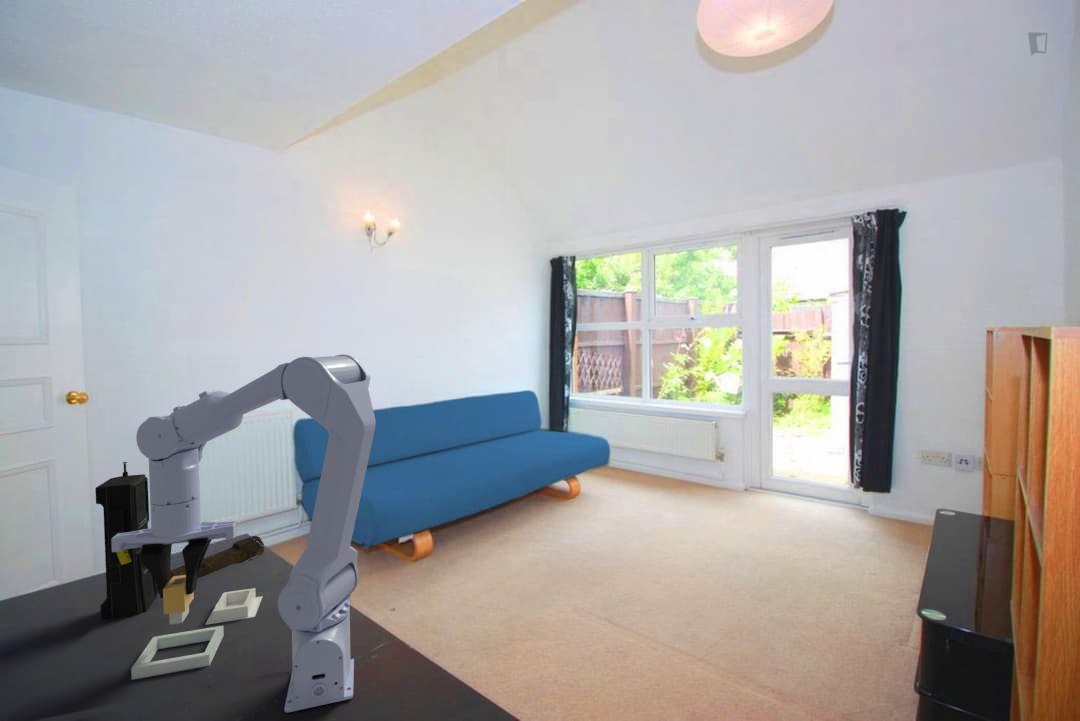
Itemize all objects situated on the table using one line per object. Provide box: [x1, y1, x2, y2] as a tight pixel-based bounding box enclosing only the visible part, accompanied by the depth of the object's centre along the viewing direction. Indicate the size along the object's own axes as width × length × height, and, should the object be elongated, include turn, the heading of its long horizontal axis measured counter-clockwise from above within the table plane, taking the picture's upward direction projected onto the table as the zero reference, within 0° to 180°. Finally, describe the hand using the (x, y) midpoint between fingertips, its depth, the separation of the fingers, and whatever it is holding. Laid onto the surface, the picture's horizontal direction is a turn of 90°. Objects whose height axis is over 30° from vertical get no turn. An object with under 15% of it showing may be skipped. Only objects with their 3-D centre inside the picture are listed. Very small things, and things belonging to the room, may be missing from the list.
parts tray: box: [130, 625, 225, 681], centre depth 73 cm, size 8×9×2 cm
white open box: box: [205, 587, 264, 626], centre depth 85 cm, size 7×7×3 cm
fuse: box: [162, 575, 195, 625], centre depth 73 cm, size 4×2×6 cm, turn 19°
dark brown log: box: [170, 535, 265, 579], centre depth 101 cm, size 19×4×5 cm, turn 150°
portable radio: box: [95, 461, 158, 620], centre depth 85 cm, size 8×6×25 cm
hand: (178, 592), depth 73 cm, fingers closed on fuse, 2 cm apart
